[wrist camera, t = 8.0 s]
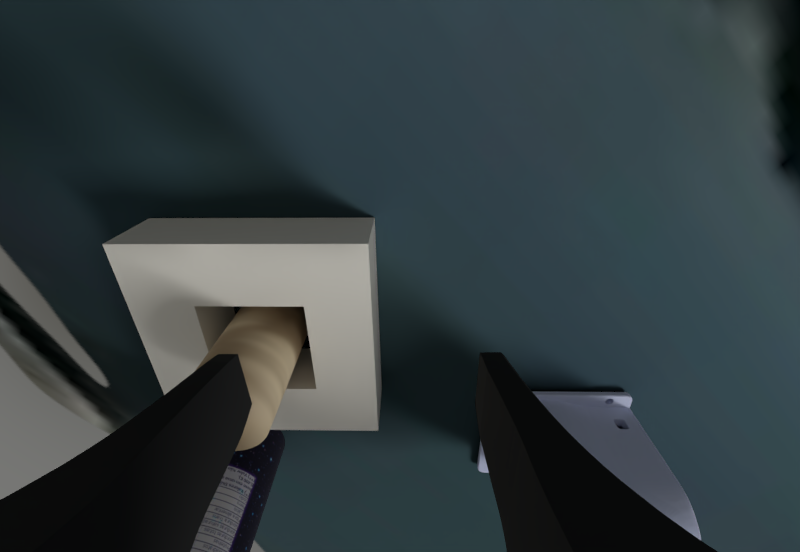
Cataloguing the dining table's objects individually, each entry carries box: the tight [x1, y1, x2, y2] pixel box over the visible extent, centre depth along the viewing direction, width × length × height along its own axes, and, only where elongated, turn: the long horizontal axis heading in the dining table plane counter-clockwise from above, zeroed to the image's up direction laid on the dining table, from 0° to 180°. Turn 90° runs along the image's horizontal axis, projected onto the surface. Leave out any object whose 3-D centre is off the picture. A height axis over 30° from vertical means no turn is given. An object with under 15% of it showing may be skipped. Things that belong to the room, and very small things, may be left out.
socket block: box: [102, 218, 382, 431], centre depth 21 cm, size 12×12×4 cm
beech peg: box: [194, 306, 308, 451], centre depth 19 cm, size 4×4×8 cm
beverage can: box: [191, 430, 285, 552], centre depth 22 cm, size 6×6×12 cm
